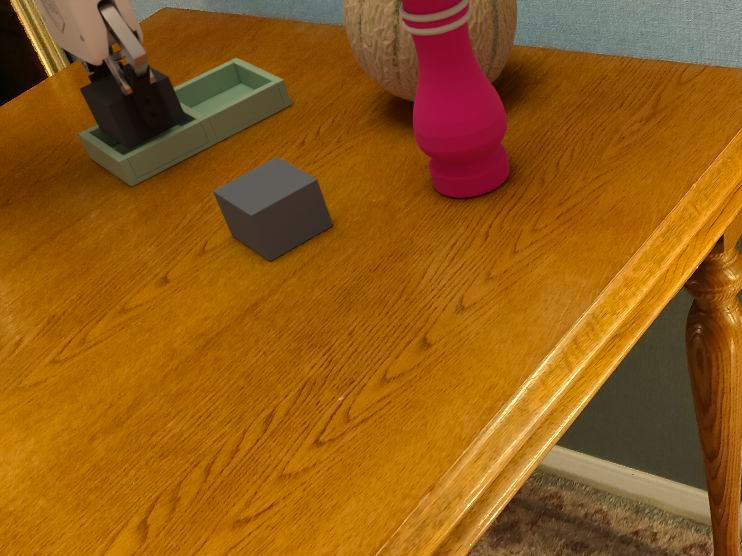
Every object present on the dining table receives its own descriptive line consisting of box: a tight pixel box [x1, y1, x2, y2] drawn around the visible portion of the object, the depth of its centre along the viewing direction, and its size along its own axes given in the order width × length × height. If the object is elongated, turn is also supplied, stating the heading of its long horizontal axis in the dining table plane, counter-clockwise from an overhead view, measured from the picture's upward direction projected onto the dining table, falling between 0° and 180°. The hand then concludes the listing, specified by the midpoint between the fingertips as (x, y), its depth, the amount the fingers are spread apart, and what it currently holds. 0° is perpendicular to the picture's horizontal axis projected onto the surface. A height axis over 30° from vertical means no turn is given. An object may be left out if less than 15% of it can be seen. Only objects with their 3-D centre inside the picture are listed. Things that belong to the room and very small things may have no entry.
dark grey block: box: [79, 66, 187, 149], centre depth 89 cm, size 6×6×4 cm
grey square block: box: [212, 156, 334, 262], centre depth 78 cm, size 6×6×4 cm
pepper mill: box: [399, 0, 511, 199], centre depth 73 cm, size 7×7×20 cm
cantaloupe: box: [342, 0, 518, 103], centre depth 85 cm, size 15×15×15 cm
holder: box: [77, 57, 293, 188], centre depth 93 cm, size 17×9×2 cm, turn 132°
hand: (140, 120), depth 90 cm, fingers closed on dark grey block, 5 cm apart
